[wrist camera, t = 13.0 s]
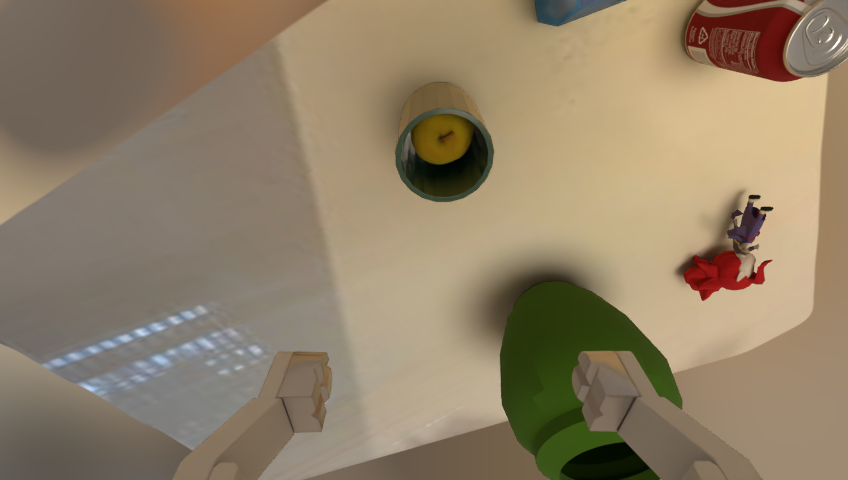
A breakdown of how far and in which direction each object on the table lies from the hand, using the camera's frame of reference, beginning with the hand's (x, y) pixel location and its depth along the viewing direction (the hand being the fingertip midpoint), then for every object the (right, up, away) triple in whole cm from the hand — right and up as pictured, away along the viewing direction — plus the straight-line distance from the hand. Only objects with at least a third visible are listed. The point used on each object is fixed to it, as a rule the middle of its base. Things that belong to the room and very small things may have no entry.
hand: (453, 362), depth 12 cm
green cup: (+1, +17, +29) cm, 34 cm away
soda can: (+28, +25, +24) cm, 45 cm away
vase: (+18, -5, +45) cm, 49 cm away
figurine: (+39, +4, +39) cm, 55 cm away
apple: (+1, +17, +29) cm, 34 cm away
